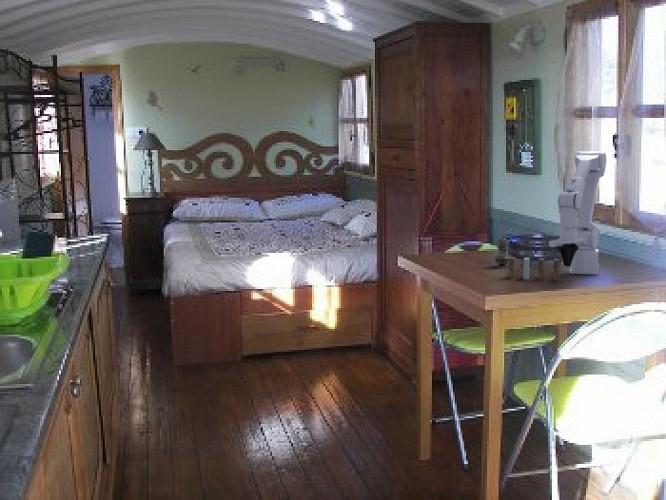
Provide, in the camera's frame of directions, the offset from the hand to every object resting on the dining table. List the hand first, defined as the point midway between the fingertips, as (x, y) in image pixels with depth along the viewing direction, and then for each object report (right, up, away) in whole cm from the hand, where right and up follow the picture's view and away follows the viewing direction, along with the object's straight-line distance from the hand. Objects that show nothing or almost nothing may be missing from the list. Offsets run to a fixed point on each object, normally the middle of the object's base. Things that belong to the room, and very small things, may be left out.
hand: (567, 265), depth 266 cm
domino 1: (-17, -4, +7) cm, 19 cm away
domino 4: (-3, -5, +2) cm, 6 cm away
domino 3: (-8, -5, +4) cm, 10 cm away
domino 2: (-13, -4, +5) cm, 15 cm away
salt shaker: (-17, -1, +28) cm, 32 cm away
